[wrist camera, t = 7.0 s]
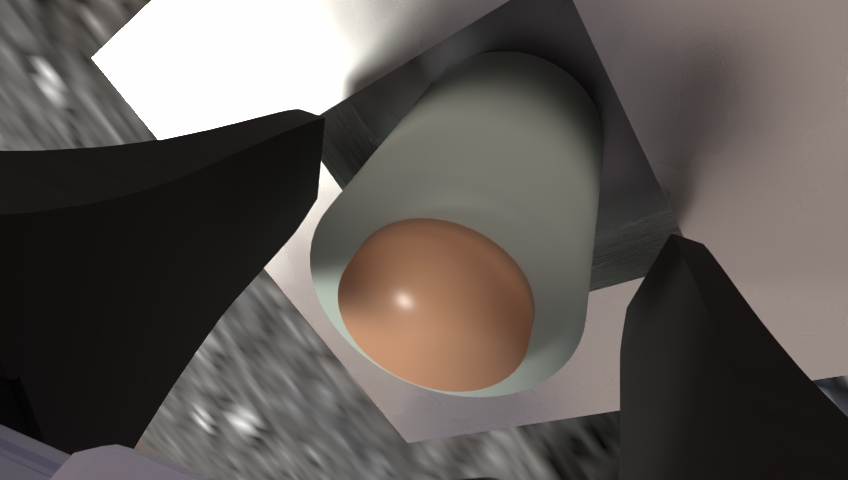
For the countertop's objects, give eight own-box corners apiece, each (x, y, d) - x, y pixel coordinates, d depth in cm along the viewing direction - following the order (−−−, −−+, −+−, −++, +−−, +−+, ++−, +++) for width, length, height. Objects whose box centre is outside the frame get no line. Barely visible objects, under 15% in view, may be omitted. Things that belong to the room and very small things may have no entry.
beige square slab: (896, 242, 14) (970, 355, 11) (441, 355, 21) (407, 443, 18) (696, -418, 9) (725, -551, 6) (195, 17, 17) (91, 57, 13)
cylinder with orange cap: (552, 253, 16) (511, 458, 10) (394, 185, 16) (278, 352, 11) (643, 99, 13) (646, 280, 7) (445, 18, 13) (318, 138, 8)
